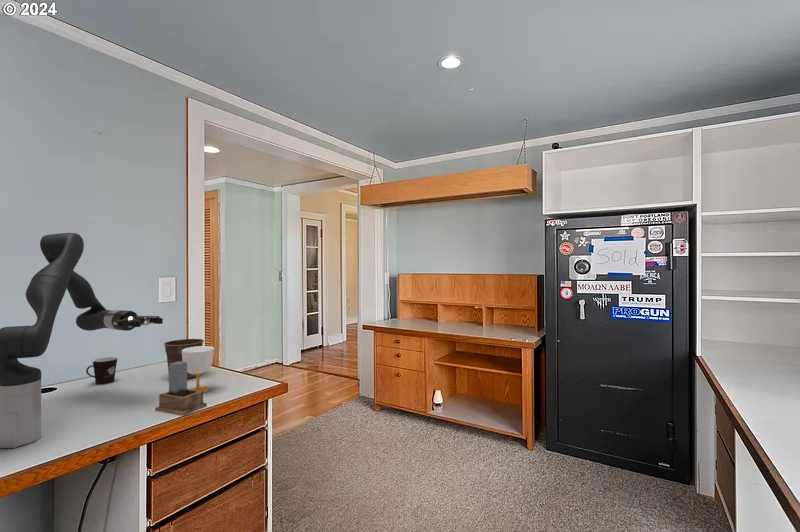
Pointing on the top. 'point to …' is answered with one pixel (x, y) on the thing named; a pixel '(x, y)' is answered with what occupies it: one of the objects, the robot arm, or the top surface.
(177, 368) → the bracket
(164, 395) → the box
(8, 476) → the top surface
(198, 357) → the cup
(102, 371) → the coffee mug
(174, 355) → the plant pot
